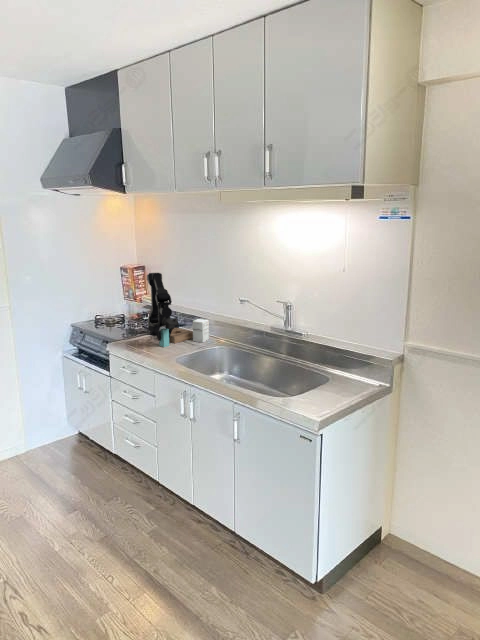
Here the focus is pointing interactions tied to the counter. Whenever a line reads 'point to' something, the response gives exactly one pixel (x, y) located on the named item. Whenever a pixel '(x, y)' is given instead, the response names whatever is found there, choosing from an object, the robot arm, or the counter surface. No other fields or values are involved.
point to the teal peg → (164, 337)
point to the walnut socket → (180, 335)
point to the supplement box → (200, 330)
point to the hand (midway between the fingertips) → (164, 339)
